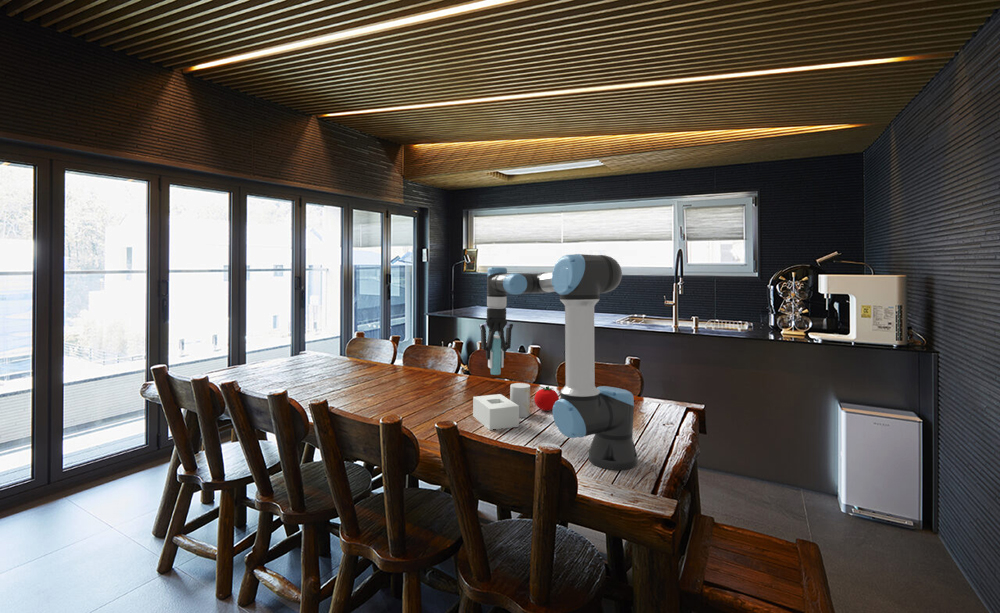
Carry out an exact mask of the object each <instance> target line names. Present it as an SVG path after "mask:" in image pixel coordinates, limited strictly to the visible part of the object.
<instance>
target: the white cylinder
mask: <svg viewBox="0 0 1000 613" xmlns="http://www.w3.org/2000/svg"><path fill="white" fill-rule="evenodd" d="M509 387H510V389H509V395H510V396H509V400H511V401H512V402H514V403H515V404H517V405H519V418H526V417H529V416H530V414H531V413H530V412H531V410H530V408H531V406H530V404H531V385H530V384H529V383H525V382H524V383H523V382H516V383H511V384H510V386H509Z"/></svg>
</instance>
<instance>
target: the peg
mask: <svg viewBox="0 0 1000 613" xmlns="http://www.w3.org/2000/svg"><path fill="white" fill-rule="evenodd" d="M501 350H502V349H501V338H500V336H499V335H495V334H494V337H493V342H492V347H491V351H492V352H493V358H492V368H489V369H490V375H492V376H493V375H494V376H499V375H501V372H502V370H501Z"/></svg>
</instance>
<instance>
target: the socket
mask: <svg viewBox="0 0 1000 613" xmlns="http://www.w3.org/2000/svg"><path fill="white" fill-rule="evenodd" d="M472 416H473V418H474V419H476V420H477V421H478V422H479V423H480V424H482V425H483V426H484V427H485V428H486V429H487V428H488V430H489V431H494V430H493V429H496V430H502V429H501V428H503V429H509V428H515V427H516V428H518V427H520V417H519V405H517V404H515V403H514V402H512V401H511V400H510V398H507V397H506V396H504V395H503V394H502V393H497V394H487V395H478V396H473V398H472Z"/></svg>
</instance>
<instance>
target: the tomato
mask: <svg viewBox="0 0 1000 613" xmlns="http://www.w3.org/2000/svg"><path fill="white" fill-rule="evenodd" d="M559 399H560V396H559V394H558V393H557V392H556V390H554V387H551V388H550V386H549V385H548V386H545V387H542V386H540V389H538V390H537V391H536V393H535V394H534V404H535V405H536V406H537V408H538V409H539V410H541V411H547V412H548V411H553V405H554V404H555V402H556V401H557V400H559Z"/></svg>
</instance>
